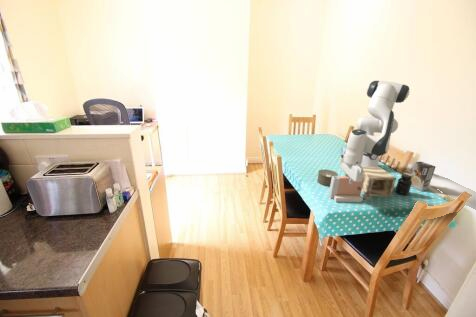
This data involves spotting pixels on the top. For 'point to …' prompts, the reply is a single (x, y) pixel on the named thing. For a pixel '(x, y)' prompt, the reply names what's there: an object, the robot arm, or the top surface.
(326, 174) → the can
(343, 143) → the top surface
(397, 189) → the supplement bottle
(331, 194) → the door
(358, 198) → the door stand
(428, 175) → the coffee box
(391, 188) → the cabinet
